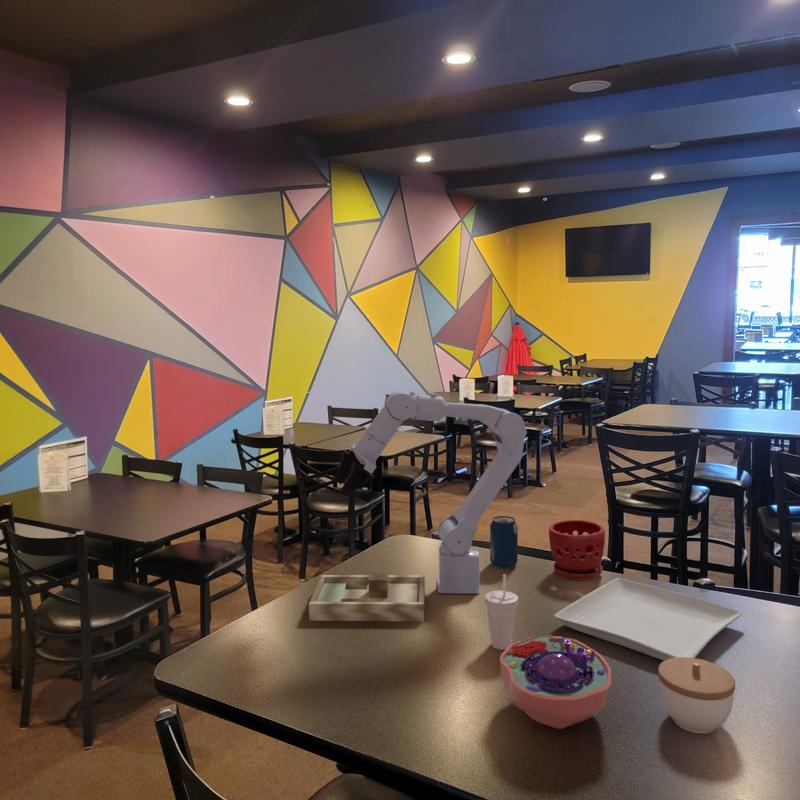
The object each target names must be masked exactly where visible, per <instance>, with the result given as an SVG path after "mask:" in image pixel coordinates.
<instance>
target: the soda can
mask: <svg viewBox="0 0 800 800" xmlns="http://www.w3.org/2000/svg"><path fill="white" fill-rule="evenodd" d="M518 527H519V526H518V524H517V522H516V518H514V517H512V516H506V515H500V516H494V517H493V518H492V521H491V523H490V525H489V531H490V532H489V560H490V563H491V564H492V565H493V567H494V568H496V569H503V570H507V569H508V570H509V569H513V568H515V566H516V565H517V564H518V560H519V559H518V557H519V556H518V553H519V552H518V551H519V550H518V549H519V546H518V544H519V543H518V542H519V540H518V539H519V538H518V537H519V535H518V533H519V530H518Z"/></svg>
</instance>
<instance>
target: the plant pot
mask: <svg viewBox="0 0 800 800" xmlns="http://www.w3.org/2000/svg"><path fill="white" fill-rule="evenodd" d="M574 532H577V533H576V534H574ZM584 533H587V534H584ZM605 536H606V534H605V528H604V526H603V525H601V524H599V523H598V522H595V521H589V520H584V519H583V520H582V519H568V520H559V521H556V522H553V523H552V524H550V525H549V527H548V538H549V548H550V551H551V556H552V558H553V560H554V563H553V569H554V571H555V572H556V573H557V574H558V575H559V576H561V577H563V578H566V579H568V580H569V579H570V580H574V581H575V580H577V581H585V580H586V581H587V580H591V579H595V578H598V577H599V576H600V575H601V574H602V573H603V570H604V569H603V568H604V567H603V566H602V564H601V561H602V559H603V557H604V548H605V541H606V537H605Z"/></svg>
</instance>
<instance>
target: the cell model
mask: <svg viewBox="0 0 800 800" xmlns="http://www.w3.org/2000/svg"><path fill="white" fill-rule="evenodd" d="M499 662H500V663H499V664H500V672H501V680H502V685H503V689H504V693H505V695H506V697H507V698H508V700H509V701H510V702H511V704H513V705H514V706H515V707H516V708H517V709H518V710H519V711H521V712H523V713H525V714H526V715H527V716H528V717H529V718H531V719H532V720H534V721H535V722H537V723H539V724H542V725H545V726H548V727H551V728H554V729H565V728H567V727H570V726H573V725H576V724H579V723H582V722H585V721H587V720H589V719H591V718H592V717H595V716H596V715H597V714H598V713H599V712H600V711H602V709H603V708H604V707H605V706H606V703H607V699H608V691H609V688H610V686H611V684H612V669H611V667H610V665H609V664H608V661H606V659H605V658H604V657H603V655H602V654H600V653H599V652H597V651H596V650H595V649H593V648H591V647H589V646H588V645H587V644H586V643H583V642H581V641H579V640H577V639H575V638H568V637H563V636H560V635H559V636H557V635H556V636H555V635H537V636H533V637H529V638H526V639H523V640H520V641H515V642H513V643H512V644H510V645H509V646H508V647H507V649H506V650H503V652H502V653H501V655H500V657H499Z"/></svg>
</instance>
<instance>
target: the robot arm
mask: <svg viewBox="0 0 800 800" xmlns="http://www.w3.org/2000/svg"><path fill="white" fill-rule="evenodd" d="M446 417H449V418H458V419H465V420H467V419H468V420H473V421H479V422H481V423H482V424H484V425H486V426H487V427H488V430H489V431H490V433H491V435H492V437H493V438H494V441H495V445H496V449H497V454H496V455H495V456H494V458H493V459H492V460H491V462H490V464H489V465H488V466H487V468H486V469H485V470H484V472H483V474H482V475H481V476H480V477H479V479H478V481H477V482H476V484H475V485H474V486H473V488H472V489H471V490H470V492H469V494H468V495H467V496H466V498H465V500H464V501H463V502H462V504H461V505H460V506H459V507H458V508H456V509H454V510H453V511H452V512H451V513H450V515H449V516H448V517H446V518H444V519H443V520H441V521H440V522H439V524H438V526H437V531H436V532H437V536H438V538H439V539H440V540H441V543H440V546H439V547H438V563H439V564H438V567H439V568H438V569H439V571H438V573H439V576H438V578H437V593H438V594H457V595H458V594H467V595H468V594H471V595H472V594H473V595H474V594H480V583H481V575H480V555H479V551H478V550H474V549H471V547H472V545H473V538H474V537H475V535H476V533H477V531H478V525H479V521H480V519H482V517H483V515H484V514H485V512H486V511H487V510H488V508H489V506H490V505H491V503H492V502H493V500H494V499H495V498H496V496H497V495H498V493H499V492H500V490H501V489H502V488H503V486H504V484H505V483H506V482H507V481H508V479H509V478H510V476H511V475H512V473H513V472H514V471H515V470H516V468H517V466H518V465H519V463H520V462H521V460H522V458H523V455H524V452H523V451H524V445H525V444H524V443H525V438H526V435H527V434H528V431H527V428H526V425H525V421H524V418H522V417H521V415H519V414H518V413H515V412H511V411H509V410H507V409H505V408H503V407H502V408H501V407H500V408H499V407H496V406H492V405H488V404H481V403H478V404H477V403H476V404H475V403H458V402H446V400H445V399H444V397H443V396H440V395H438V393H437V392H436V393H435V392H431V393H429V394H419V393H416V392H415V391H409V394H407V393H405V392H402V391H394V392H392V393H390V394H389V395H388V396H386V398H385V400H384V406H383V407H382V408H381V409H380V411H379V413H378V414H377V415H376V416H375V417H374V418H373V420H372V421H371V423H370V424H369V426H368V427H367V428H366V430H365V431H364V432H363V435H361V437H360V438H359V440H358V441H357V443H352V444H349V445H348V448H349V451H347V450H346V449H343V450H342V454H341V458H340V462H339V465H338V468H337V471H336V472H335V474H334V477H333V481H335V482H336V483H338V484H340V485H342V487H341V490H340V492H341V493H343V494H344V495H345V496H348V497H350V496H351V495H352V494H354V493H355V492H356V491H357V490H358V489H359V488H360V487H362V486H364V485H365V484H366V483H368V482H370V481H372V480H374V479H375V475H374V474H373V473H374V471H375V470H376V469H377V465H376V461H377V460H378V458H379V457H380V456H381V454H382V452H383V451H384V450H385V448H386V447H387V445H389V442H390V441H391V439H392V438H393V437H394V436H395V434H396V433H397V432H398V430H399V427H400V426H401V425H402V424H403V422H404V421H406V420H408V419H411V420H419V421H432V422H440V421H442V420H443V419H444V418H446Z"/></svg>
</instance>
